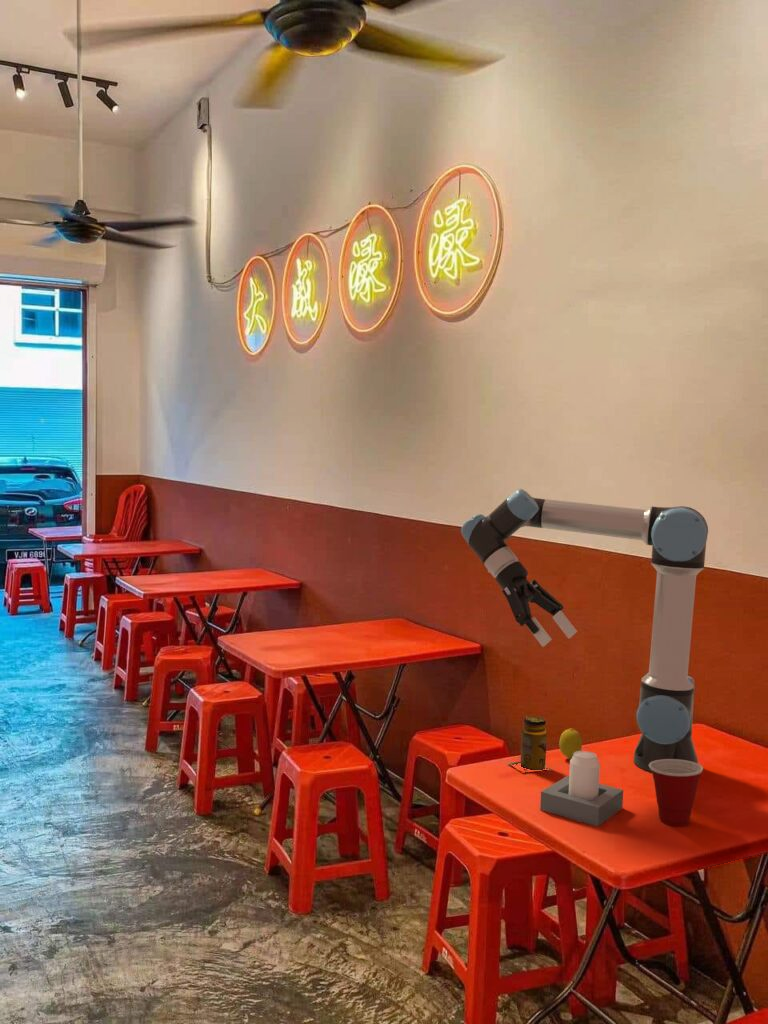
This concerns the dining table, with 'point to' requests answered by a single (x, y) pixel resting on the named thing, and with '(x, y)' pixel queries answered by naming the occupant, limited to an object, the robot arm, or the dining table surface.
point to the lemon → (570, 742)
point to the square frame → (581, 803)
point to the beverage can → (584, 775)
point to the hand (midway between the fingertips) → (560, 639)
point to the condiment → (533, 744)
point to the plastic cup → (675, 789)
